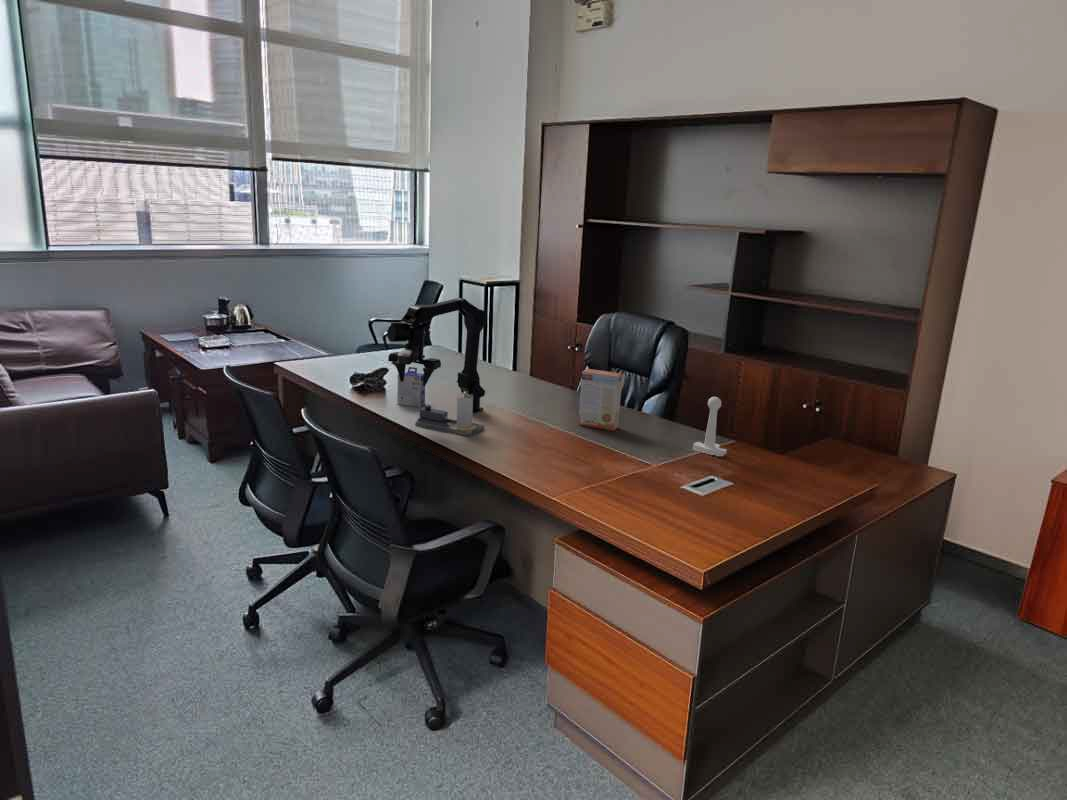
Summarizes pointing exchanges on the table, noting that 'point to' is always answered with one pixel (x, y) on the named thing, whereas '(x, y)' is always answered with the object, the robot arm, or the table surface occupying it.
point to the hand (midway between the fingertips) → (413, 383)
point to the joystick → (711, 431)
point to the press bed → (449, 426)
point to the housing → (464, 410)
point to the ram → (433, 414)
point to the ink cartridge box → (411, 389)
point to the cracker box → (600, 399)
